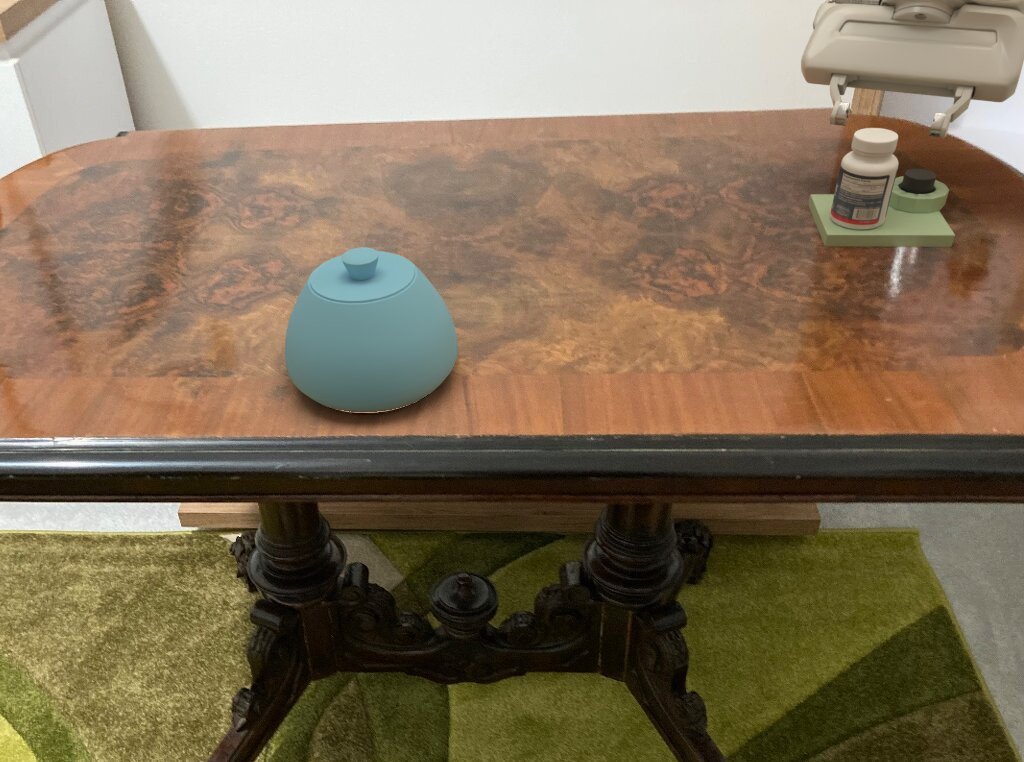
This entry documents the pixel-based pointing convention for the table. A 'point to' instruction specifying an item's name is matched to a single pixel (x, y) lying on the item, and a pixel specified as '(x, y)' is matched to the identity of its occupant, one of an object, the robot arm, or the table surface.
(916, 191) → the button
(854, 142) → the pill bottle
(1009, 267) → the table surface
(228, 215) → the table surface
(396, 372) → the sugar bowl
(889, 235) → the scale
